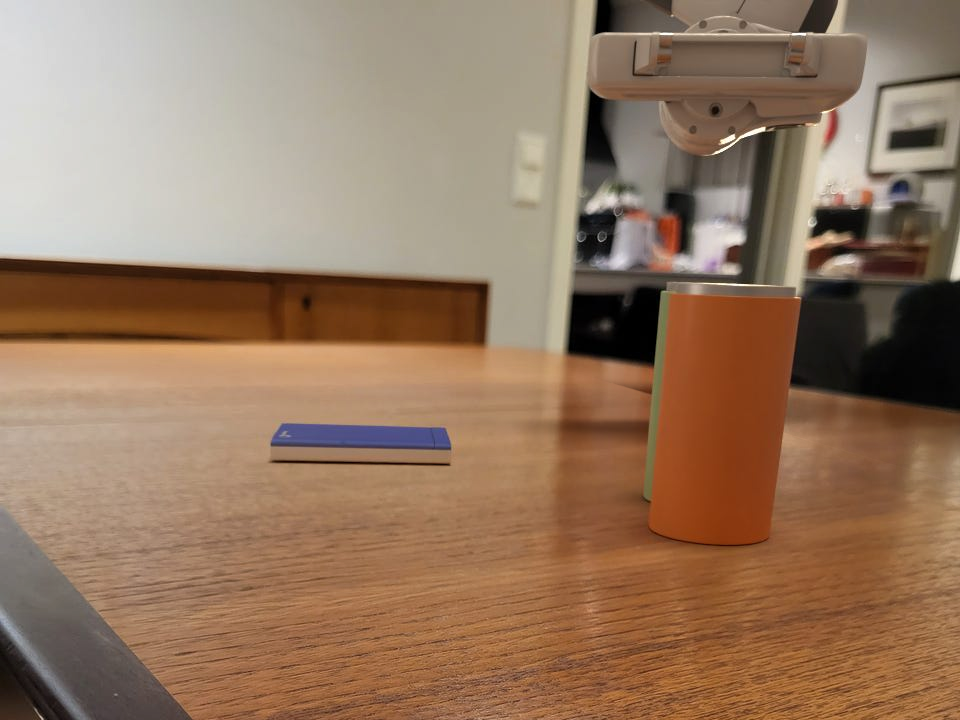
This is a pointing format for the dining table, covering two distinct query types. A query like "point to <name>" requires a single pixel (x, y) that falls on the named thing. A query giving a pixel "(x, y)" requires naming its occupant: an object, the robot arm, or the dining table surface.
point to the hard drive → (360, 443)
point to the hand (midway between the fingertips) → (731, 45)
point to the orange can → (722, 411)
